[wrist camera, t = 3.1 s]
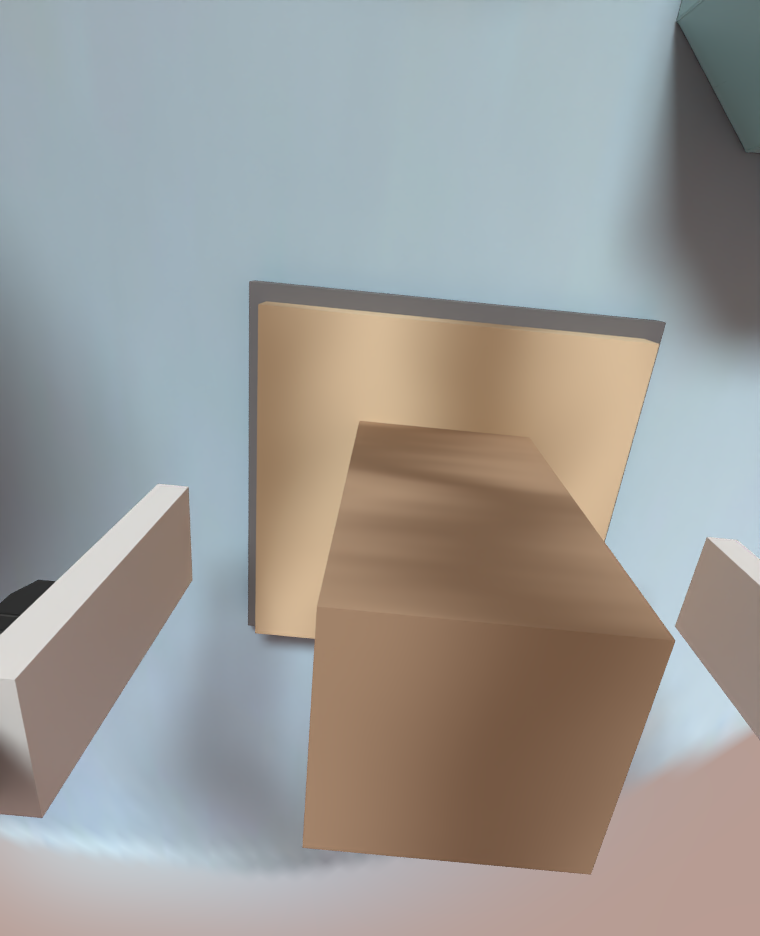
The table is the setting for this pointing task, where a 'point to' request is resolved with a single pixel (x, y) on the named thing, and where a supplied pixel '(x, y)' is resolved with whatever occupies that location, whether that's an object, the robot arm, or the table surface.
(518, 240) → the table surface
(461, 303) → the mat
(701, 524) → the table surface
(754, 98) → the bowl
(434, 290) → the table surface
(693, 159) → the table surface
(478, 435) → the lid
